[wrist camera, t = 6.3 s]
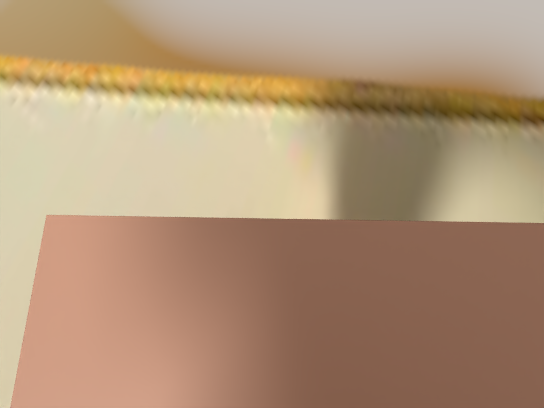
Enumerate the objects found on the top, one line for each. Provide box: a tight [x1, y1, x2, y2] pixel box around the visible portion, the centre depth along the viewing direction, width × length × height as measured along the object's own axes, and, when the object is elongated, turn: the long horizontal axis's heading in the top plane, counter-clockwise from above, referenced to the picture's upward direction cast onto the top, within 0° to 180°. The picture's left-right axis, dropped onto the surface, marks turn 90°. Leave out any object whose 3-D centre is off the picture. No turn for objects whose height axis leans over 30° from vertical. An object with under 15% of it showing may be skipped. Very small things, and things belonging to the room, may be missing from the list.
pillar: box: [10, 215, 544, 408], centre depth 8 cm, size 5×5×12 cm
